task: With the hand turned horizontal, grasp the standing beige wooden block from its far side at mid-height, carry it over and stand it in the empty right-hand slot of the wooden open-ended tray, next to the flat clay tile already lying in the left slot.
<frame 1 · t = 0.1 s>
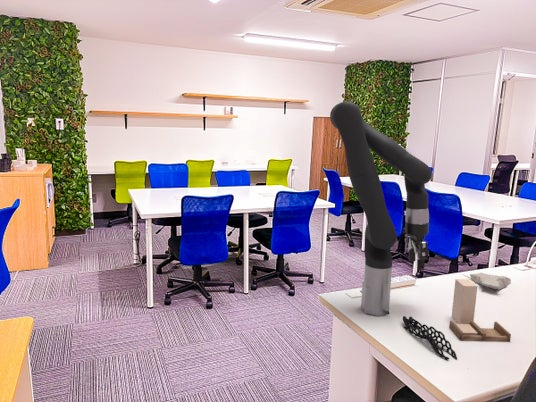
hand: (416, 265, 141), 17 cm above the table, tool pointing down, fingers open, 8 cm apart
rock: (487, 285, 170), on the table
decorative element: (425, 345, 122), on the table
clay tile: (465, 333, 126), point 1 cm above the table, touching wooden open-ended tray
beige wooden block: (461, 324, 134), on the table
wooden open-ended tray: (478, 337, 126), on the table
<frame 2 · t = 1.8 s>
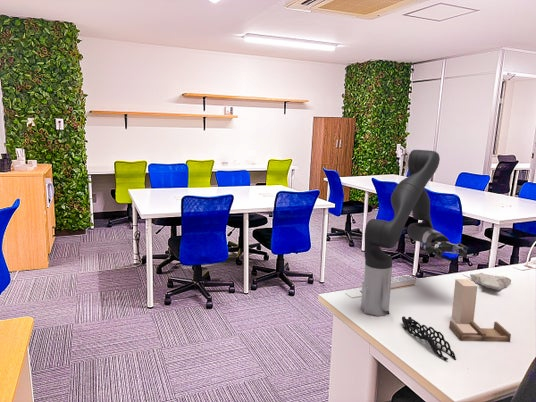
hand: (453, 254, 141), 21 cm above the table, tool horizontal, fingers open, 8 cm apart
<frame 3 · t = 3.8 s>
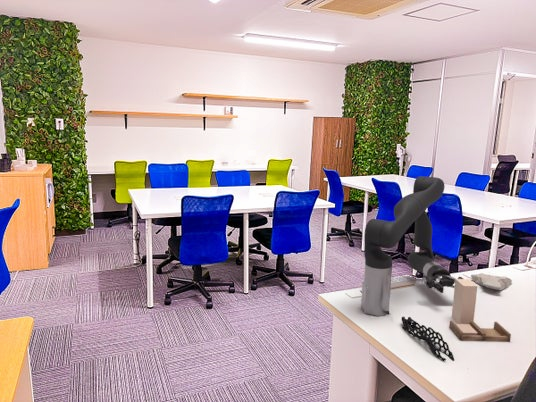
hand: (454, 290, 140), 9 cm above the table, tool horizontal, fingers open, 8 cm apart
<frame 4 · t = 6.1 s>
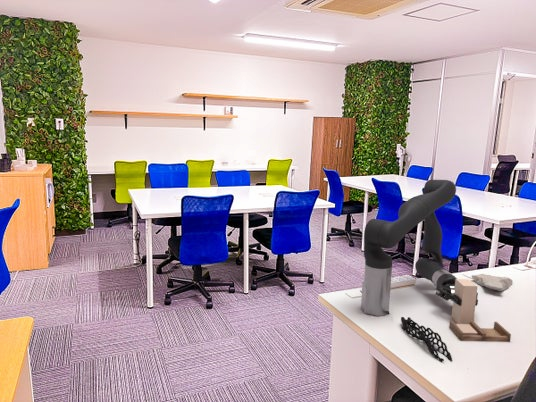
hand: (468, 302, 130), 9 cm above the table, tool horizontal, fingers closed on beige wooden block, 4 cm apart
beige wooden block: (461, 324, 134), on the table, touching gripper
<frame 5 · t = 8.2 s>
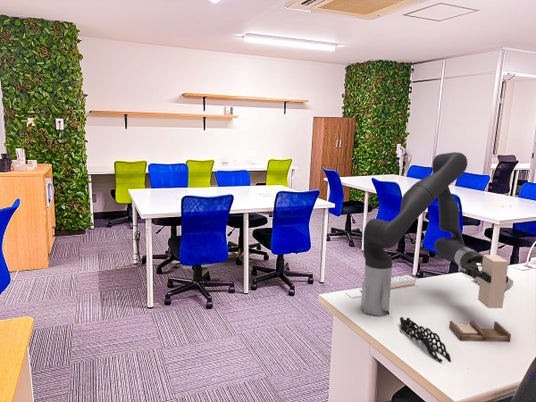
hand: (498, 280, 121), 20 cm above the table, tool horizontal, fingers closed on beige wooden block, 4 cm apart
beige wooden block: (489, 303, 125), point 11 cm above the table, touching gripper
when the fingers open (11 cm above the table, at t = 10.7 s): beige wooden block drops 1 cm, resting on wooden open-ended tray.
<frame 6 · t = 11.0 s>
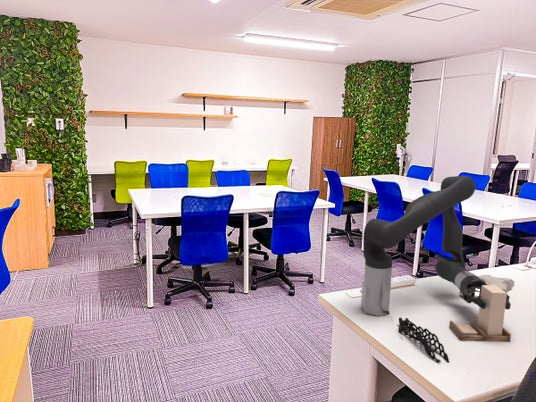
hand: (496, 306, 122), 12 cm above the table, tool horizontal, fingers open, 6 cm apart
beige wooden block: (488, 334, 126), point 1 cm above the table, touching wooden open-ended tray
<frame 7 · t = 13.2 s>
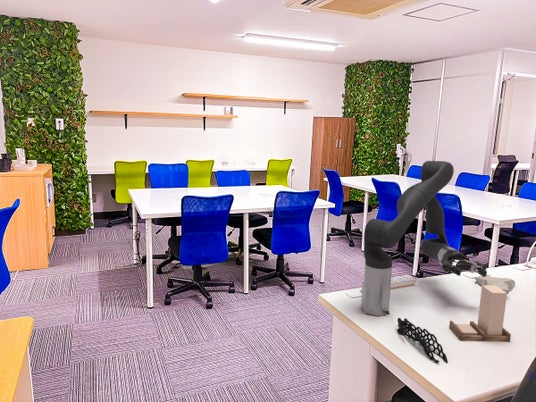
hand: (472, 273, 135), 17 cm above the table, tool horizontal, fingers open, 8 cm apart
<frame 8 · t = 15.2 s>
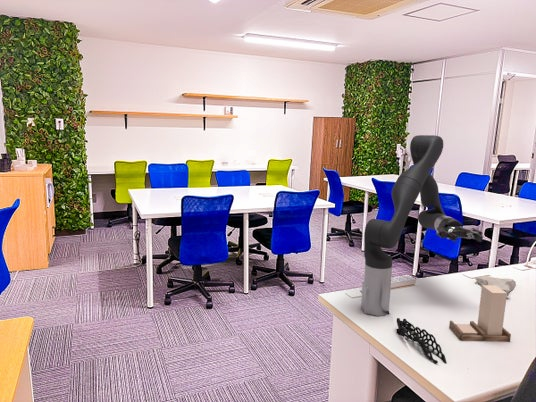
hand: (468, 238, 136), 28 cm above the table, tool horizontal, fingers open, 8 cm apart
at the end: beige wooden block 0.2 cm from the target spot on the wooden open-ended tray, point 1.2 cm above the wooden open-ended tray's base; beige wooden block tilted 0°; the gripper is holding nothing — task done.
